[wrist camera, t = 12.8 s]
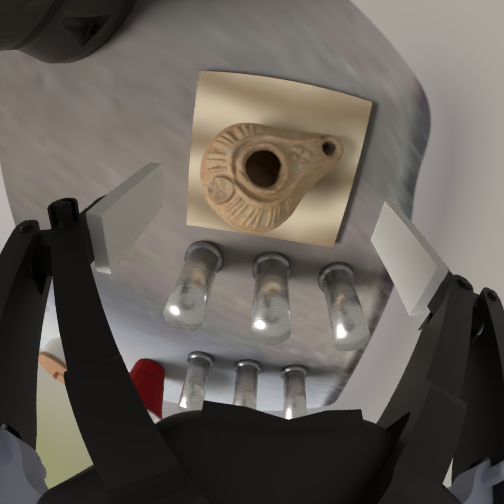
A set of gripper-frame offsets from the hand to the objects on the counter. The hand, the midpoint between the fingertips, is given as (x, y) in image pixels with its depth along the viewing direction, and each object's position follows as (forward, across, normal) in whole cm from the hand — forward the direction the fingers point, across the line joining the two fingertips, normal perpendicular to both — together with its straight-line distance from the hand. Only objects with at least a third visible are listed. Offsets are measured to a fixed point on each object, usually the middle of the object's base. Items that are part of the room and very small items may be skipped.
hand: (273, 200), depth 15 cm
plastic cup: (+12, -16, -41) cm, 45 cm away
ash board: (+12, 0, -1) cm, 12 cm away
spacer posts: (+12, +2, -24) cm, 26 cm away
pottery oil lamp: (+11, +1, 0) cm, 11 cm away
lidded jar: (+12, -36, -43) cm, 57 cm away
